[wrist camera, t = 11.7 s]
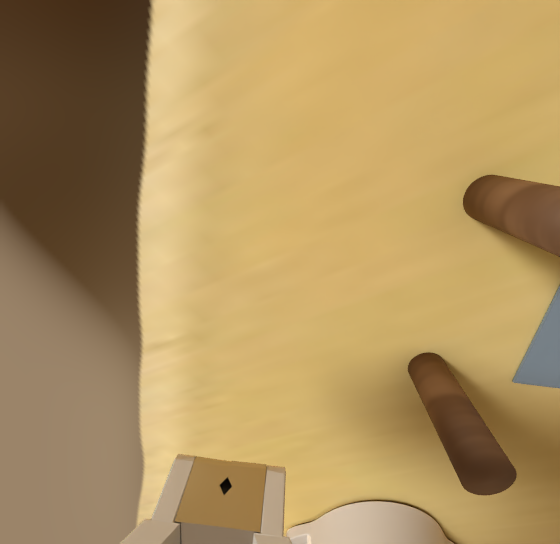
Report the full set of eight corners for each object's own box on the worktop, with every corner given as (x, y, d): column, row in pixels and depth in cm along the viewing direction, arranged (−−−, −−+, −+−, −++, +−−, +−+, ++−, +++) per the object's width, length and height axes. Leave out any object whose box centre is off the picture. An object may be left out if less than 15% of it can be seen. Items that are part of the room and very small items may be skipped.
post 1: (438, 383, 26) (504, 498, 18) (404, 378, 26) (453, 491, 18) (449, 355, 25) (525, 463, 16) (413, 350, 25) (471, 456, 16)
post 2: (499, 222, 21) (635, 276, 12) (457, 216, 21) (563, 268, 12) (517, 177, 20) (678, 205, 11) (471, 172, 20) (598, 196, 11)
